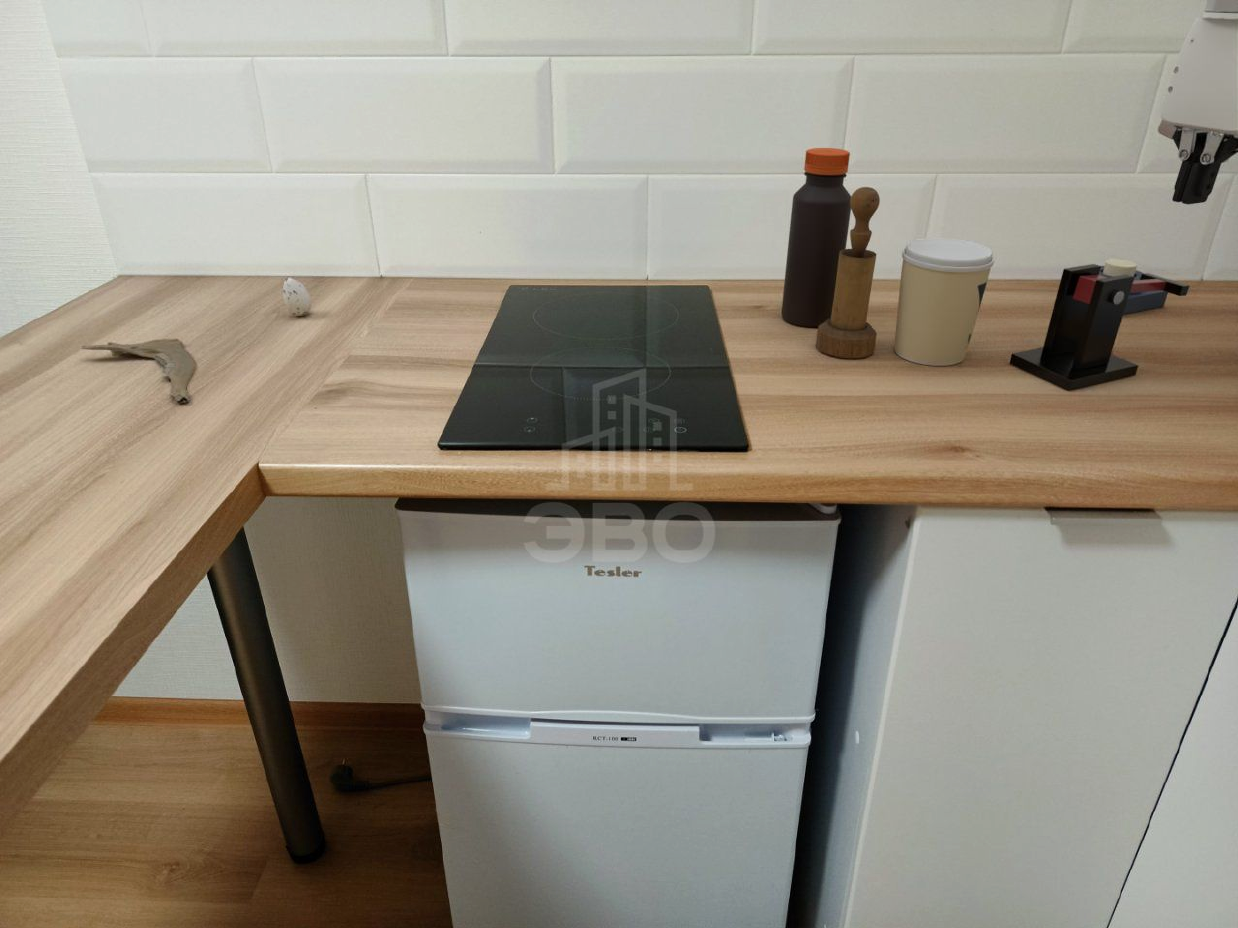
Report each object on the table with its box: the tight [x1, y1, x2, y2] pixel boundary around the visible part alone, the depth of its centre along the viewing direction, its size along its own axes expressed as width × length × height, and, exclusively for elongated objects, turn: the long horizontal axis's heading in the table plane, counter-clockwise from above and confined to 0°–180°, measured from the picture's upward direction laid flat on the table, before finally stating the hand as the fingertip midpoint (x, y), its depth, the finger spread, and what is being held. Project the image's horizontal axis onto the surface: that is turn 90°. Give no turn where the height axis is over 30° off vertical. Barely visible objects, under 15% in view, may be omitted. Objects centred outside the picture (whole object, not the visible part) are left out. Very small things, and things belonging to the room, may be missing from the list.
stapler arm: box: [1073, 272, 1190, 304], centre depth 91 cm, size 13×5×2 cm, turn 114°
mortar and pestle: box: [815, 186, 881, 359], centre depth 94 cm, size 7×6×18 cm
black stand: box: [1009, 263, 1139, 392], centre depth 91 cm, size 10×8×11 cm
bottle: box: [781, 147, 852, 328], centre depth 103 cm, size 7×7×20 cm
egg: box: [282, 276, 313, 317], centre depth 107 cm, size 3×3×5 cm
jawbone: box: [81, 338, 197, 404], centre depth 93 cm, size 9×20×2 cm, turn 54°
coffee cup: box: [894, 237, 995, 367], centre depth 95 cm, size 9×9×12 cm
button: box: [1103, 258, 1138, 277], centre depth 111 cm, size 4×4×2 cm
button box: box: [1099, 265, 1169, 316], centre depth 112 cm, size 10×8×4 cm
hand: (1188, 201), depth 89 cm, fingers closed
